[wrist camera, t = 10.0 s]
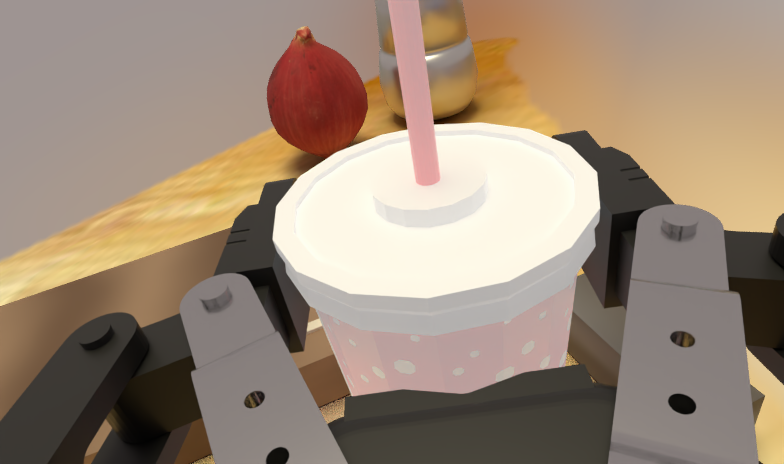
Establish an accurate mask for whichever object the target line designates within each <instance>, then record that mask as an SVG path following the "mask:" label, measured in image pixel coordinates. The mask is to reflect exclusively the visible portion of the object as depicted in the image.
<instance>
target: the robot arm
mask: <svg viewBox="0 0 784 464" xmlns="http://www.w3.org/2000/svg"><path fill="white" fill-rule="evenodd" d="M552 138H553V139H555V140H558V141H560V142H563V143H565V144H568V145H570V146H571V147H572V148H573V149H574V150H575V151H576V152H577V153H578V154H579V155H580V156H581V157H582V158H583V159H584V160H585V161H586V162H587V163H588V164H589V165H590V166H591V167H592V168H593V169H594V170H595V171H596V172H597V177H598V189H599V200H600V217H599V223H598V224H597V226H596V227H595V228H594V230H595V244H596V246H595V248H594V249H593V251H592V252H591V254H590V255H589V257H588V258H587V260H586V261H585V262H584V264H583V265H582V269H583V271H584V273H585V275H586V276H587V278H588V280H589V282H590V284H591V286H592V287H593V289H594V291H595V293H596V295H597V297H598V299H599V300H600V302H601V304H602V306H603V308H604V309H605V308H612V307H619V306H624V308H625V310H626V311H627V312H626V320H625V328H624V336H623V344H622V353H621V361H620V369H619V377H618V386H614V385H608V384H603V383H594V382H592V380H591V377H590V375H589V373H588V371H587V368H586V366H585V364H579V365H572V366H565V367H558V368H551V369H544V370H537V371H529V372H524V373H521V374H518V375H516V376H513V377H510V378H508V379H505V380H502V381H499V382H497V383H494V384H491V385H489V386H486V387H483V388H481V389H478V390H475V391H473V392H469V393H464V394H458V393H445V392H432V391H419V390H406V389H401V390H393V391H386V392H379V393H372V394H365V395H358V396H350V397H345V411H344V417H341V418H339V419H336V420H334V421H332V422H330V423H328V424H327V423H326V421H325V419H324V417H323V415H322V413H321V412H320V410H319V408H318V406H317V404H316V402H315V400H314V398H313V396H312V394H311V392H310V391H309V389H308V387H307V385H306V383H305V381H304V379H303V377H302V375H301V373H300V371H299V369H298V368H297V366H296V364H295V362H294V360H293V358H292V356H291V354H290V353H296V352H303V351H304V349H305V341H306V334H307V326H308V319H309V311H310V306H309V305H308V303H307V302H306V301H305V299H304V298H303V296H302V295H301V293H300V292H299V291H298V289H297V288H296V286H295V285H294V283H293V282H292V281H291V279H290V278H289V276H288V275H287V273H286V266H285V262H284V261H283V259H282V258H281V257H280V255H279V254H278V252H277V251H276V248H275V245H274V242H273V230H274V222H275V213H276V206H277V204H278V203H279V202H280V201H281V199H282V198H283V197H284V196H285V194H286V193H287V192H288V191H289V189H290V188H291V187H292V186H293V184H294V183H295V182H296V181H297V179H296V178H292V179H286V180H280V181H274V182H268V183H266V184H265V185H264V188H263V191H262V194H261V197H260V200H259V203H258V204H256V205H250V206H247V207H246V208H245V209H244V210H243V211H242V212H241V213H240V214H239V215H238V217H237V218H236V219H235V221H234V223H233V226H232V229H231V231H230V233H231V234H230V235H229V236H228V239H227V242H226V246H225V247H224V249H223V252H222V254H221V257H220V260H219V262H218V265H217V267H216V270H215V273H214V275H213V277H211V278H208V279H206V280H204V281H202V282H200V283H199V284H197V285H196V286H194V287H193V288H192V289H191V290H189V291H188V292H187V294H186V295H185V296H184V297H183V299H182V301H181V303H180V308H179V309H180V313H178V314H176V315H174V316H172V317H169V318H166V319H164V320H161V321H158V322H156V323H153V324H150V325H147V326H145V327H142V328H141V327H140V326H139V324H138V322H137V321H136V319H135V317H134V316H132V315H131V314H129V313H124V312H116V313H110V314H105V315H102V316H100V317H97V318H95V319H93V320H91V321H89V322H87V323H85V324H84V325H82V326H81V327H79V328H78V329H77V330H75V331H74V332H73V333H72V334H71V335H70V336H69V337H68V338H67V339H66V340H65V341H64V342H63V344H62V345H61V346H60V347H59V349H58V350H57V351H56V352H55V354H54V355H53V356H52V357H51V359H50V360H49V361H48V362H47V364H46V365H45V366H44V367H43V369H42V370H41V371H40V372H39V374H38V375H37V376H36V377H35V379H34V380H33V381H32V382H31V383H30V385H29V386H28V387H27V388H26V390H25V391H24V392H23V393H22V395H21V396H20V397H19V398H18V400H17V401H16V402H15V403H14V405H13V406H12V407H11V408H10V410H9V411H8V412H7V413H6V415H5V416H4V417H3V418H2V420H1V421H0V464H84V457H85V454H86V451H87V449H88V447H89V445H90V443H91V442H92V440H93V438H94V437H95V435H96V434H97V432H98V430H99V429H100V427H101V426H102V424H103V422H104V421H105V419H106V420H107V422H108V423H109V424H110V426H111V427H112V429H111V431H110V433H109V434H108V436H107V438H106V439H105V441H104V443H103V444H102V446H101V448H100V449H99V451H98V453H97V454H96V456H95V458H94V460H93V461H92V463H91V464H174V462H175V460H176V458H177V456H178V454H179V452H180V449H181V447H182V445H183V443H184V441H185V438H186V436H187V434H188V432H189V430H190V427H191V425H192V422H194V421H196V420H198V419H201V418H203V421H204V425H205V428H206V432H207V436H208V439H209V443H210V447H211V450H212V454H213V458H214V461H215V464H763V463H761V462H760V461H758V453H757V444H756V435H755V426H754V417H753V408H752V399H751V389H750V380H749V371H748V362H747V353H746V347H747V348H748V350H749V351H750V352H751V353H752V354H753V355H754V356H755V357H756V358H757V359H758V360H759V361H760V362H761V363H762V364H763V365H764V366H765V367H766V368H767V369H768V370H769V371H770V372H771V373H772V374H773V375H774V376H775V377H776V378H777V379H778V380H779V381H780V382H781V383H782V384H783V385H784V213H783V214H782V215H781V216H779V218H778V219H777V221H776V225H775V228H774V231H773V233H762V232H736V231H726V230H724V229H723V225H722V223H721V222H720V221H719V219H718V218H716V217H715V216H714V215H712V214H711V213H709V212H707V211H704V210H702V209H699V208H695V207H692V206H686V205H676V204H674V203H673V201H672V200H671V199H670V198H669V197H668V196H667V195H666V194H665V193H664V192H663V191H662V190H661V189H660V188H659V187H658V185H657V184H656V183H655V182H654V181H653V180H652V179H651V178H649V176H648V175H647V174H646V173H645V171H644V170H643V169H640V166H639V165H638V164H637V163H636V162H635V161H634V160H633V159H632V158H631V156H630V155H628V154H626V153H623V152H621V151H619V150H617V149H615V148H613V147H607V148H601V147H600V146H599V145H598V144H597V143H596V142H595V140H594V139H593V138H592V137H591V136H590V134H589V133H588V132H587V131H585V130H584V131H577V132H571V133H565V134H559V135H553V136H552Z"/></svg>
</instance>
